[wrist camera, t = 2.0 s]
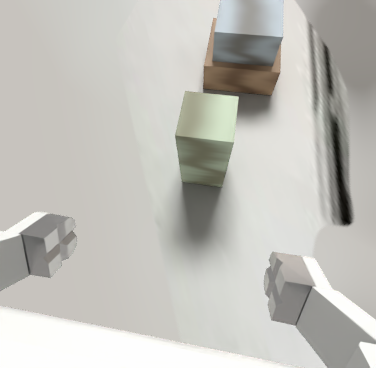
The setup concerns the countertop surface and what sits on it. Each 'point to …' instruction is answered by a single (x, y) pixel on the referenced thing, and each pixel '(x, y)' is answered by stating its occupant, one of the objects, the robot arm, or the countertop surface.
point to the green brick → (205, 137)
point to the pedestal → (245, 47)
